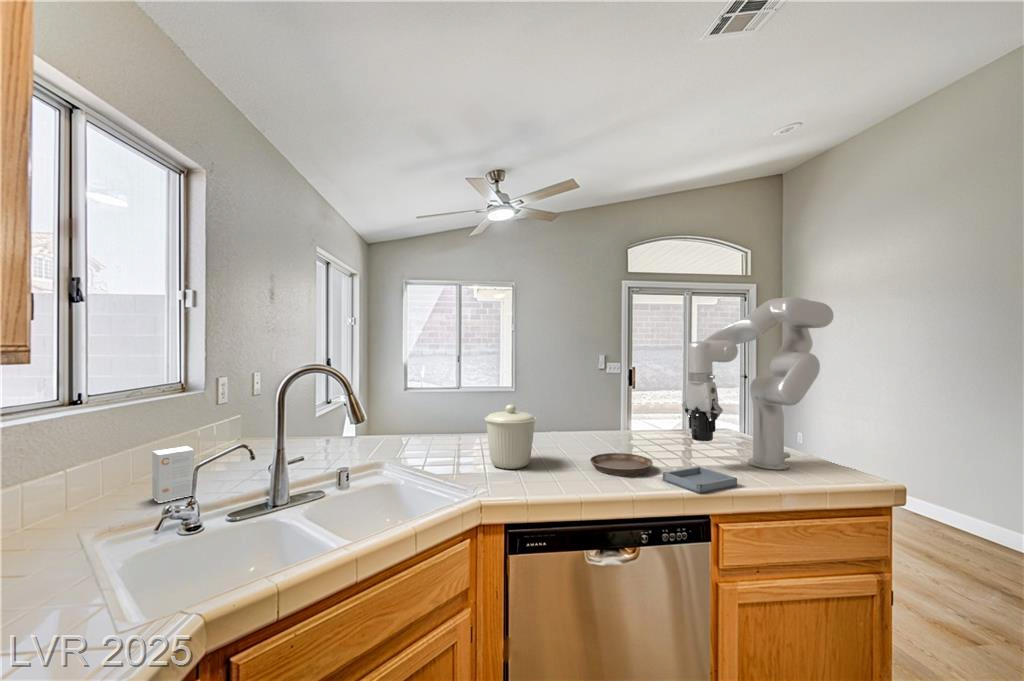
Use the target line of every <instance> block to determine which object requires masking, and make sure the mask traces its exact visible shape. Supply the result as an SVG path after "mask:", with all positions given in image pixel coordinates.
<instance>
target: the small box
mask: <svg viewBox="0 0 1024 681" xmlns="http://www.w3.org/2000/svg"><path fill="white" fill-rule="evenodd" d="M151 458H152V459H151V460H152V463H151V464H152V465H151V467H152V468H151V469H152V471H151V472H152V475H151V476H152V481H151V482H152V486H151V487H152V490H151V491H152V492H151V493H152V495H151V496H153V497H154V498H155V499H156V500H157V501H165V500H170V499H173V498H177V497H185V496H190V494H191V488H192V479H193V473H194V474H195V449H193V448H192V447H190V446H188V445H183V446H179V447H172V448H165V449H159V450H152V456H151Z"/></svg>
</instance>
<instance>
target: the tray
mask: <svg viewBox="0 0 1024 681" xmlns="http://www.w3.org/2000/svg"><path fill="white" fill-rule="evenodd" d="M662 481H663V482H665V481H666V482H665V483H668V484H671V485H674V486H676V487H679V488H681V489H685V490H687V491H689V492H693V493H695V494H699V495H701V494H706V493H711V492H712V493H713V492H717V491H722V490H725V489H732V488H736V487H738V477H735V476H732V475H728V474H725V473H722V472H718V471H715V470H712V469H709V468H706V467H702V466H694V467H687V468H683V469H682V468H681V469H674V470H669V471H664V472H662ZM731 487H732V488H731Z"/></svg>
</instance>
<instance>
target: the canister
mask: <svg viewBox="0 0 1024 681" xmlns="http://www.w3.org/2000/svg"><path fill="white" fill-rule="evenodd" d="M516 409H517V407H516V406H515V405H514V404H507V405H506V406H505V411H496V412H492V413H489V414H488V415H487V416H485V417H484V421H486V430H487V441H488V443H487V444H488V450H489V457H490V461H491V464H492V465H493V466H494V467H496V468H499V469H504V468H505V470H515V469H523V468H525V467H526V466H528V464H530V463H529V462H530V460H531V458H532V457H531V455H532V448H533V440H534V433H535V422H536V421H537V420H538V418H537V417H536V416H534V415H533V414H532V413H529V412H523V411H516Z"/></svg>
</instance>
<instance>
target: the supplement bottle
mask: <svg viewBox="0 0 1024 681" xmlns="http://www.w3.org/2000/svg"><path fill="white" fill-rule="evenodd" d="M694 410H695V411H694V412H692V414H691V429H690V430H691V435H690V436H691V440H693V441H696V442H697V441H698V442H712V441H713V439H714V432H710V433H709V432H707V420H709V419H708V417H707V414H706V412H701V411H699V410H700V409H698V407H697V406H696V407H695V408H694ZM710 414H711V413H710ZM711 416H712V415H711Z"/></svg>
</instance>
